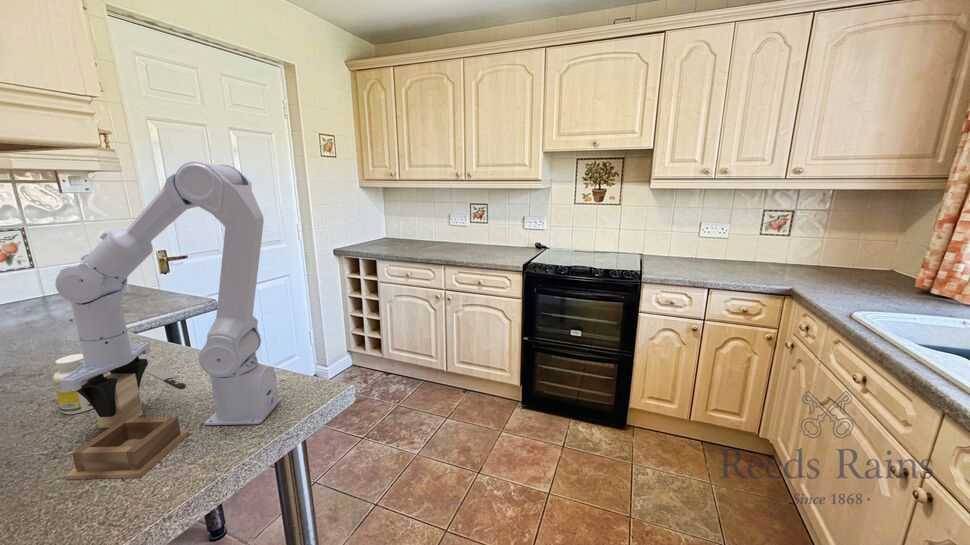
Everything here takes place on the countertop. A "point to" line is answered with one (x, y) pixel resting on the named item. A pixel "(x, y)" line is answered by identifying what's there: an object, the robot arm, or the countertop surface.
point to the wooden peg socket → (127, 448)
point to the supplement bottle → (69, 399)
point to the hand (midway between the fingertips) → (119, 408)
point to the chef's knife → (165, 377)
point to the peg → (123, 400)
